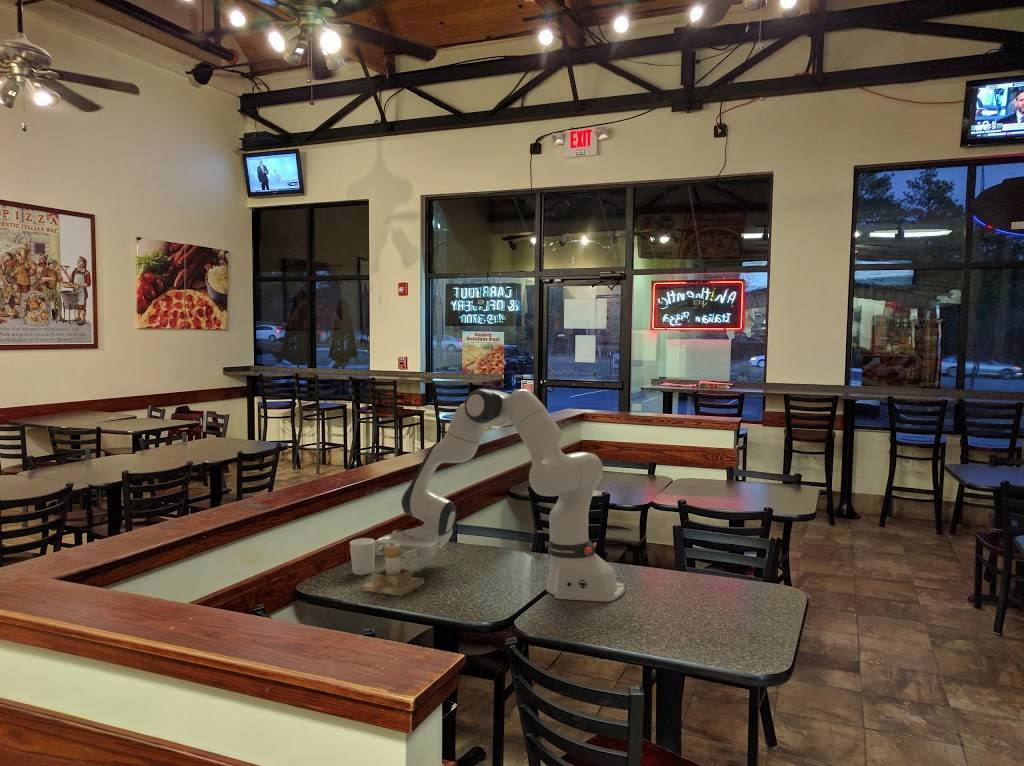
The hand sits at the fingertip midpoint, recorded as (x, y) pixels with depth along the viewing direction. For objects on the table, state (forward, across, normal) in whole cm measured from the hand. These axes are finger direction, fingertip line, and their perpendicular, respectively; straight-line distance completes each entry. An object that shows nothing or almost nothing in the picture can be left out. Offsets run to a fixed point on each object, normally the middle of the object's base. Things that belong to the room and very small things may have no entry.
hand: (391, 554), depth 212 cm
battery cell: (0, 0, -8) cm, 9 cm away
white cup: (-9, +18, -10) cm, 23 cm away
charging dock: (0, 0, -10) cm, 10 cm away
